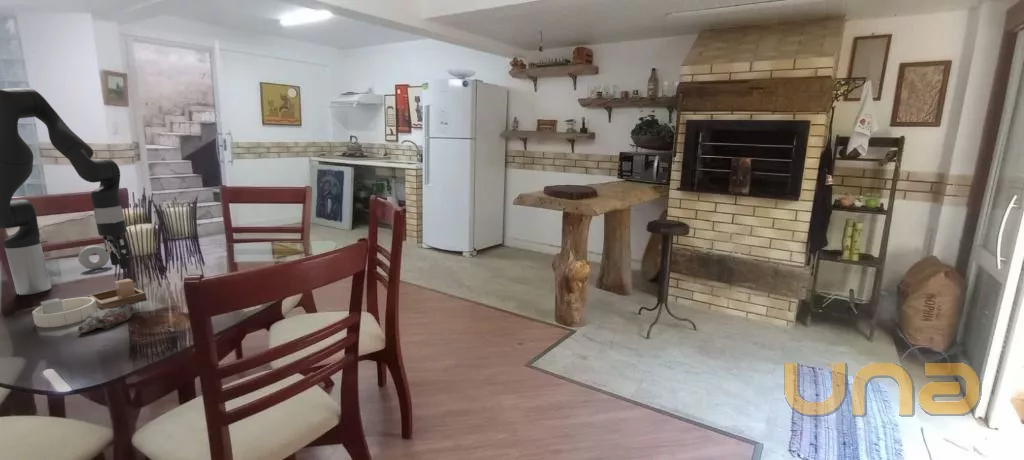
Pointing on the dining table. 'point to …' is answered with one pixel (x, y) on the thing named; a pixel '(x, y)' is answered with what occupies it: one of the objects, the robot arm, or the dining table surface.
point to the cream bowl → (66, 312)
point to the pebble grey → (52, 306)
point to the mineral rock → (106, 318)
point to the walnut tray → (116, 298)
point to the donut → (90, 250)
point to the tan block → (124, 288)
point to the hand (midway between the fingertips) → (120, 266)
